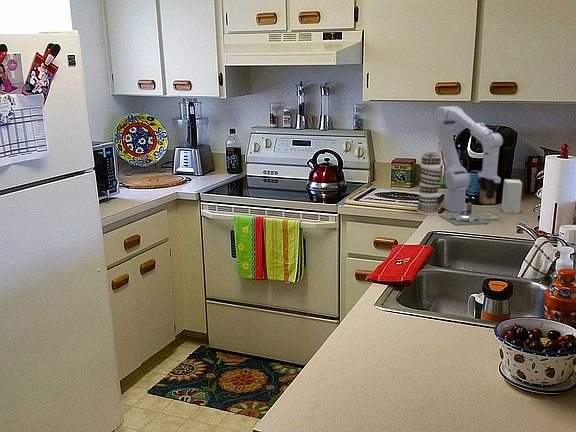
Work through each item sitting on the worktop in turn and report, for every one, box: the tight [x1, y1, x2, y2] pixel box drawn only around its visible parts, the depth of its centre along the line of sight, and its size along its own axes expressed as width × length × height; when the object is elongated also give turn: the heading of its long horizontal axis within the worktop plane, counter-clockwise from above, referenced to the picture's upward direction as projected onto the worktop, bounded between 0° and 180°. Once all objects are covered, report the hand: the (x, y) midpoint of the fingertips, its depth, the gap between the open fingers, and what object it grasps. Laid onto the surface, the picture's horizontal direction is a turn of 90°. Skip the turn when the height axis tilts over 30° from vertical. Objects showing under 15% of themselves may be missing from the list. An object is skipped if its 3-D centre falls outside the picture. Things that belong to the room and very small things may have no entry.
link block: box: [478, 189, 497, 205], centre depth 247 cm, size 4×5×5 cm
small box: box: [500, 178, 524, 214], centre depth 259 cm, size 8×6×13 cm
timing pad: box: [479, 212, 499, 221], centre depth 249 cm, size 8×7×1 cm
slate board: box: [438, 213, 490, 226], centre depth 244 cm, size 15×14×1 cm
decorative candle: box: [417, 151, 443, 216], centre depth 253 cm, size 9×9×25 cm
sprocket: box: [448, 202, 481, 222], centre depth 243 cm, size 12×12×5 cm
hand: (487, 197), depth 247 cm, fingers closed on link block, 3 cm apart
